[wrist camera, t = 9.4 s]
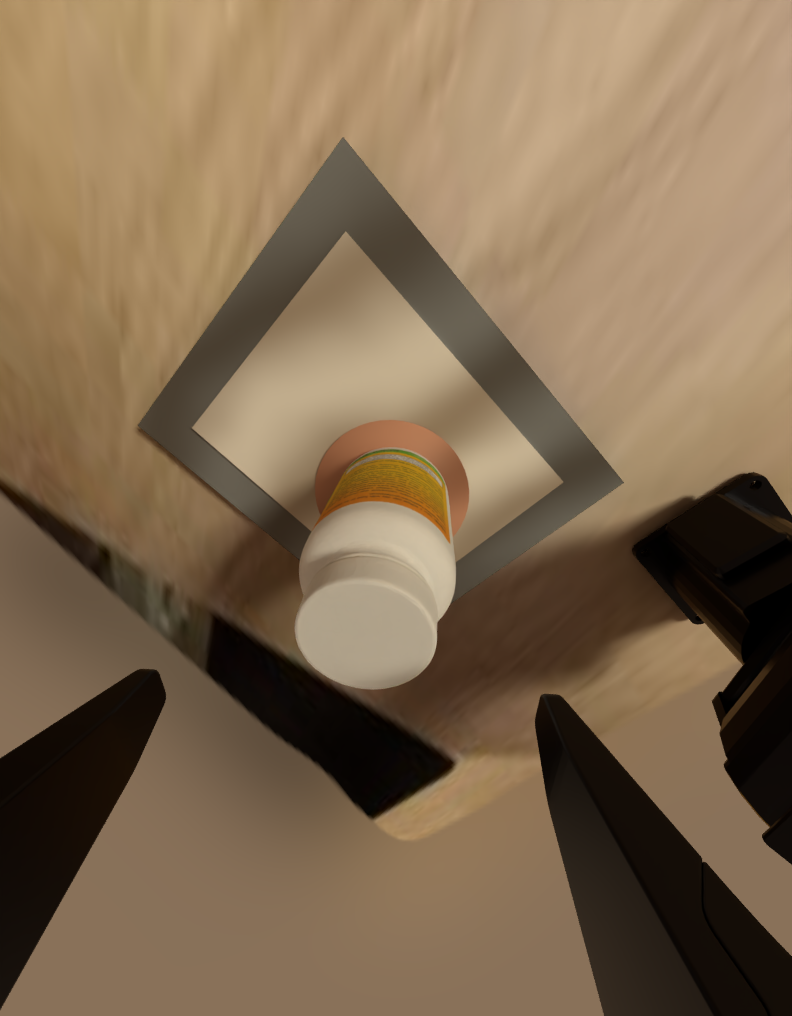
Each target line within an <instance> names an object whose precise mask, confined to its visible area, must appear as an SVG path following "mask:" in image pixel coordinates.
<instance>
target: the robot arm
mask: <svg viewBox="0 0 792 1016" xmlns="http://www.w3.org/2000/svg"><path fill="white" fill-rule="evenodd" d="M753 481H756V482H755V484H754V485H753V486H751V487H750V484H751V483H752V482H753ZM645 549H647V551H646V552H645V553H641V552H642V551H643V550H645ZM632 552H633V555H634V556H635V557H636V558H637V559H638V560H639V562H640V563H641V564H642V565H643V566H644V567H645V569H646V570H647V571H648V572H649V573H650V574H651V575H652V577H653V578H654V579H655V580H656V581H657V582H658V584H659V585H660V586H661V587H662V588H663V589H664V591H665V592H666V593H667V594H668V595H669V596H670V598H671V599H672V600H673V601H674V602H675V603H676V605H677V606H678V607H679V608H680V609H681V610H682V611H683V613H684V614H685V615H686V616H687V617H688V618H689V620H690V621H691V622H692V623H694V624H703V623H705V624H706V625H707V626H708V627H709V628H710V629H711V630H712V632H713V633H714V634H715V635H716V636H717V637H718V638H719V639H720V640H721V641H722V643H723V644H724V645H725V646H726V647H727V648H728V649H729V650H730V651H731V652H732V654H733V655H734V656H735V657H736V658H737V659H738V660H739V661H740V662H741V663H742V665H743V666H742V667H741V668H740V670H739V671H738V672H737V673H736V675H735V676H734V677H733V679H732V680H731V681H730V683H729V684H728V685H727V687H726V688H725V689H724V691H723V692H718V694H717V695H716V696H715V698H714V699H713V700H712V703H713V706H714V709H715V712H716V715H717V718H718V721H719V723H720V726H721V730H720V737H721V740H722V744H723V748H724V751H725V755H726V757H727V760H726V761H725V763H724V768H725V770H726V772H727V773H728V775H729V777H730V778H731V780H732V781H733V783H734V784H735V786H736V787H737V789H738V791H739V792H740V794H741V795H742V797H743V798H744V799H745V800H746V801H747V803H748V804H749V805H750V806H751V807H752V809H753V810H754V811H755V812H756V814H757V815H758V816H759V817H760V818H761V819H762V820H763V821H764V822H765V823H766V824H767V825H768V826H769V827H770V828H769V829H768V830H767V831H765V833H763V834H762V838H763V840H764V842H765V843H766V844H767V845H768V846H769V847H770V848H772V849H773V850H774V851H775V852H777V853H778V854H779V855H780V856H782V857H783V858H784V859H786V860H787V861H788V862H789V863H791V864H792V515H791V514H790V512H789V511H788V509H787V508H786V506H785V505H784V503H783V502H782V500H781V499H780V497H779V496H778V494H777V493H776V491H775V490H774V488H773V487H772V486H771V484H770V483H769V481H768V480H767V478H765V477H764V476H762V475H760V474H758V473H754V472H753V473H748V474H746V475H744V476H742V477H741V478H739V479H737V480H736V481H734V482H733V483H731V484H730V485H728V486H726V487H725V488H723V489H722V490H720V491H719V492H717V493H715V494H714V495H712V496H711V497H709V498H707V499H706V500H704V501H703V502H701V503H700V504H698V505H696V506H695V507H693V508H692V509H690V510H689V511H687V512H685V513H684V514H682V515H681V516H679V517H677V518H676V519H674V520H673V521H671V522H670V523H668V524H666V525H665V526H663V527H662V528H660V529H659V530H657V531H655V532H654V533H652V534H651V535H649V536H648V537H646V538H644V539H643V540H641V541H640V542H638V543H637V544H636V545H634V547H633V549H632ZM697 615H698V616H697ZM165 700H166V692H165V689H164V686H163V683H162V680H161V678H160V674H159V672H158V671H157V670H153V669H139V670H137V671H135V672H133V673H132V674H130V675H129V676H127V677H125V678H124V679H122V680H121V681H119V682H118V683H116V684H114V685H113V686H111V687H110V688H108V689H107V690H105V691H104V692H102V693H101V694H99V695H97V696H96V697H94V698H93V699H91V700H90V701H88V702H87V703H85V704H84V705H82V706H80V707H79V708H77V709H76V710H74V711H73V712H71V713H70V714H68V715H66V716H65V717H63V718H62V719H60V720H59V721H57V722H56V723H54V724H53V725H51V726H49V727H48V728H46V729H45V730H43V731H42V732H40V733H39V734H37V735H35V736H34V737H32V738H31V739H29V740H28V741H26V742H25V743H23V744H22V745H20V746H19V747H17V748H15V749H14V750H12V751H11V752H9V753H8V754H6V755H4V756H3V757H1V758H0V1010H1V1008H2V1006H3V1004H4V1002H5V1001H6V999H7V997H8V995H9V993H10V992H11V990H12V988H13V986H14V984H15V983H16V981H17V979H18V977H19V976H20V974H21V972H22V970H23V969H24V966H25V965H26V963H27V961H28V960H29V958H30V956H31V954H32V952H33V950H34V949H35V947H36V945H37V944H38V942H39V940H40V938H41V936H42V935H43V933H44V931H45V929H46V927H47V926H48V924H49V922H50V920H51V919H52V917H53V915H54V913H55V911H56V909H57V908H58V906H59V904H60V902H61V901H62V899H63V897H64V895H65V893H66V892H67V890H68V888H69V886H70V885H71V883H72V881H73V879H74V877H75V876H76V874H77V872H78V870H79V869H80V867H81V865H82V863H83V861H84V860H85V858H86V856H87V854H88V852H89V851H90V849H91V847H92V845H93V844H94V842H95V840H96V838H97V836H98V835H99V833H100V831H101V829H102V828H103V826H104V824H105V822H106V820H107V819H108V817H109V815H110V813H111V811H112V810H113V808H114V806H115V804H116V803H117V800H118V799H119V797H120V795H121V794H122V792H123V790H124V788H125V786H126V785H127V783H128V781H129V779H130V777H131V775H132V774H133V772H134V770H135V768H136V766H137V763H138V761H139V759H140V757H141V755H142V752H143V750H144V748H145V746H146V744H147V742H148V739H149V737H150V735H151V733H152V730H153V728H154V726H155V724H156V721H157V719H158V717H159V715H160V713H161V710H162V708H163V706H164V703H165ZM535 729H536V735H537V741H538V747H539V753H540V760H541V766H542V772H543V778H544V784H545V790H546V796H547V801H548V806H549V810H550V814H551V818H552V822H553V826H554V829H555V833H556V837H557V841H558V845H559V848H560V852H561V856H562V859H563V863H564V867H565V871H566V874H567V878H568V882H569V886H570V889H571V893H572V897H573V900H574V904H575V908H576V912H577V916H578V919H579V923H580V927H581V931H582V934H583V938H584V942H585V946H586V949H587V953H588V957H589V960H590V964H591V968H592V971H593V976H594V979H595V983H596V986H597V991H598V994H599V998H600V1002H601V1006H602V1009H603V1013H604V1016H792V956H791V955H790V954H789V953H788V952H787V951H786V950H785V949H784V948H783V947H782V946H781V945H780V944H779V943H778V942H777V941H776V940H775V939H774V937H772V935H770V933H769V932H768V931H767V930H766V929H765V928H764V927H763V926H762V925H761V924H760V923H759V922H758V921H757V919H756V918H755V917H754V916H753V915H752V914H751V913H750V912H749V910H748V909H747V908H746V907H745V906H744V905H743V904H742V903H741V902H740V901H739V899H738V898H737V897H736V896H735V895H734V894H733V893H732V892H731V890H730V889H729V888H728V887H727V886H726V885H725V884H724V883H723V881H722V880H721V879H720V878H719V877H718V876H717V874H716V873H715V872H714V871H713V870H712V869H711V868H710V866H709V865H708V864H707V863H706V862H702V858H701V856H700V855H699V854H698V853H697V852H696V851H695V849H694V848H693V847H692V846H691V845H690V844H689V842H688V841H687V840H686V839H685V838H684V837H683V836H682V834H681V833H680V832H679V831H678V830H677V829H676V828H675V826H674V825H673V824H672V823H671V822H670V821H669V819H668V818H667V817H666V816H665V815H664V814H663V812H662V811H661V810H660V809H659V808H658V807H657V806H656V804H655V803H654V802H653V801H652V800H651V799H650V798H649V796H648V795H647V794H646V793H645V792H644V791H643V789H642V788H641V787H640V786H639V785H638V784H637V783H636V781H635V780H634V779H633V778H632V777H631V776H630V775H629V773H628V772H627V771H626V770H625V769H624V768H623V767H622V765H621V764H620V763H619V762H618V761H617V759H615V757H614V756H613V755H612V754H611V753H610V751H609V750H608V749H607V748H606V747H605V746H604V745H603V743H602V742H601V741H600V740H599V739H598V738H597V736H596V735H595V734H594V733H593V732H592V731H591V730H590V728H589V727H588V726H587V725H586V724H585V723H584V721H583V720H582V719H581V718H580V717H579V716H578V715H577V713H576V712H575V711H574V710H573V709H572V708H571V707H570V705H569V704H568V703H567V702H566V701H565V700H564V698H563V697H561V696H560V695H556V694H542V695H541V697H540V700H539V704H538V708H537V713H536V717H535Z"/></svg>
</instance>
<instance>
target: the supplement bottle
mask: <svg viewBox="0 0 792 1016" xmlns="http://www.w3.org/2000/svg"><path fill="white" fill-rule="evenodd" d="M299 579H300V585H301V589H302V593H303V595H304V597H303V599H302V602H301V604H300V607H299V609H298V612H297V615H296V619H295V637H296V640H297V644H298V646H299V649H300V650H301V652H302V654H303V655H304V657H305V658H306V660H307V661H308V662H309V663H310V664H311V665H312V666H313V667H314V668H315V669H316V670H318V671H319V672H320V673H322V674H323V675H325V676H326V677H328V678H330V679H332V680H334V681H336V682H338V683H340V684H343V685H347V686H350V687H354V688H360V689H386V688H391V687H395V686H398V685H401V684H404V683H406V682H408V681H410V680H412V679H413V678H415V677H416V676H418V675H419V674H420V673H421V672H422V671H423V670H424V669H425V668H426V667H427V666H428V664H429V663H430V661H431V660H432V658H433V655H434V653H435V649H436V644H437V622H438V621H439V620H440V619H441V618H442V616H443V615H444V614H445V612H446V611H447V609H448V607H449V605H450V603H451V601H452V598H453V595H454V591H455V584H456V563H455V553H454V544H453V534H452V525H451V514H450V505H449V496H448V491H447V487H446V484H445V481H444V479H443V477H442V475H441V474H440V472H439V471H438V470H437V468H436V467H435V466H434V465H433V464H432V463H431V462H430V461H429V460H427V459H426V458H425V457H423V456H422V455H420V454H418V453H416V452H414V451H411V450H408V449H404V448H397V447H385V448H379V449H375V450H372V451H369V452H367V453H365V454H363V455H361V456H360V457H359V458H357V459H356V460H355V461H354V462H353V463H351V465H350V466H349V467H348V468H347V469H346V471H345V472H344V474H343V475H342V477H341V479H340V481H339V483H338V485H337V486H336V488H335V490H334V492H333V494H332V496H331V497H330V499H329V501H328V503H327V504H326V506H325V508H324V510H323V512H322V514H321V516H320V517H319V519H318V521H317V523H316V524H315V526H314V528H313V530H312V532H311V533H310V535H309V537H308V539H307V542H306V544H305V546H304V548H303V551H302V554H301V558H300V563H299Z"/></svg>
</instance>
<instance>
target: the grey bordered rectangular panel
mask: <svg viewBox="0 0 792 1016" xmlns="http://www.w3.org/2000/svg"><path fill="white" fill-rule="evenodd" d="M138 426H139V427H140V428H141V429H142V430H144V431H145V432H146V433H147V434H148V435H150V436H151V437H152V438H153V439H155V440H156V441H157V442H158V443H159V444H161V445H162V446H163V447H164V448H165V449H167V450H168V451H169V452H170V453H171V454H173V455H174V456H175V457H176V458H177V459H179V460H180V461H181V462H182V463H183V464H185V465H186V466H187V467H188V468H189V469H191V470H192V471H193V472H194V473H195V474H197V475H198V476H199V477H200V478H201V479H203V480H204V481H205V482H206V483H207V484H209V485H210V486H211V487H212V488H213V489H215V490H216V491H217V492H218V493H219V494H221V495H222V496H223V497H224V498H225V499H227V500H228V501H229V502H230V503H231V504H233V505H234V506H235V507H236V508H237V509H239V510H240V511H241V512H242V513H243V514H245V515H246V516H247V517H248V518H250V519H251V520H252V521H253V522H254V523H256V524H257V525H258V526H259V527H260V528H262V529H263V530H264V531H265V532H266V533H268V534H269V535H270V536H271V537H272V538H274V539H275V540H276V541H277V542H278V543H280V544H281V545H282V546H283V547H284V548H286V549H287V550H288V551H289V552H290V553H292V554H293V555H294V556H295V557H296V558H298V559H299V560H300V558H301V554H302V551H303V548H304V546H305V544H306V542H307V539H308V537H309V535H310V533H311V532H312V530H313V528H314V526H315V524H316V523H317V521H318V519H319V517H320V516H321V514H322V512H323V510H324V508H325V506H326V504H327V503H328V501H329V499H330V497H331V496H332V494H333V492H334V490H335V488H336V486H337V485H338V483H339V481H340V479H341V477H342V475H343V474H344V472H345V471H346V469H347V468H348V467H349V466H350V465H351V463H353V462H354V461H355V460H356V459H357V458H359V457H360V456H361V455H363V454H365V453H367V452H369V451H372V450H375V449H379V448H385V447H397V448H404V449H408V450H411V451H414V452H416V453H418V454H420V455H422V456H423V457H425V458H426V459H427V460H429V461H430V462H431V463H432V464H433V465H434V466H435V467H436V468H437V470H438V471H439V472H440V474H441V475H442V477H443V479H444V481H445V484H446V487H447V491H448V496H449V505H450V514H451V525H452V534H453V544H454V553H455V563H456V584H455V591H454V595H453V598H452V601H451V603H453V602H454V601H456V600H457V599H458V598H460V597H461V596H463V595H464V594H466V593H467V592H468V591H470V590H471V589H473V588H474V587H476V586H477V585H478V584H480V583H481V582H483V581H484V580H486V579H487V578H488V577H490V576H491V575H493V574H494V573H496V572H497V571H498V570H500V569H501V568H503V567H504V566H506V565H507V564H508V563H510V562H511V561H513V560H514V559H516V558H517V557H518V556H520V555H521V554H523V553H524V552H526V551H527V550H528V549H530V548H531V547H533V546H534V545H536V544H537V543H538V542H540V541H541V540H543V539H544V538H546V537H547V536H548V535H550V534H551V533H553V532H554V531H556V530H557V529H558V528H560V527H561V526H563V525H564V524H566V523H567V522H568V521H570V520H571V519H573V518H574V517H576V516H577V515H578V514H580V513H581V512H583V511H584V510H586V509H587V508H588V507H590V506H591V505H593V504H594V503H596V502H597V501H598V500H600V499H601V498H603V497H604V496H606V495H607V494H608V493H610V492H611V491H613V490H614V489H616V488H617V487H618V486H620V485H621V484H623V483H624V482H623V481H622V480H621V478H620V477H619V476H618V475H617V473H616V472H615V471H614V470H613V469H612V467H611V466H610V465H609V464H608V462H607V461H606V460H605V459H604V457H603V456H602V455H601V454H600V453H599V451H598V450H597V449H596V448H595V446H594V445H593V444H592V443H591V441H590V440H589V439H588V438H587V437H586V435H585V434H584V433H583V432H582V430H581V429H580V428H579V427H578V425H577V424H576V423H575V422H574V421H573V419H572V418H571V417H570V416H569V414H568V413H567V412H566V411H565V409H564V408H563V407H562V406H561V405H560V403H559V402H558V401H557V400H556V398H555V397H554V396H553V395H552V393H551V392H550V391H549V390H548V389H547V387H546V386H545V385H544V384H543V382H542V381H541V380H540V379H539V377H538V376H537V375H536V374H535V373H534V371H533V370H532V369H531V368H530V366H529V365H528V364H527V363H526V361H525V360H524V359H523V358H522V357H521V355H520V354H519V353H518V352H517V350H516V349H515V348H514V347H513V345H512V344H511V343H510V342H509V341H508V339H507V338H506V337H505V336H504V334H503V333H502V332H501V331H500V329H499V328H498V327H497V326H496V325H495V323H494V322H493V321H492V320H491V318H490V317H489V316H488V315H487V313H486V312H485V311H484V310H483V309H482V307H481V306H480V305H479V304H478V302H477V301H476V300H475V299H474V297H473V296H472V295H471V294H470V293H469V291H468V290H467V289H466V288H465V286H464V285H463V284H462V283H461V281H460V280H459V279H458V278H457V277H456V275H455V274H454V273H453V272H452V270H451V269H450V268H449V267H448V265H447V264H446V263H445V262H444V261H443V259H442V258H441V257H440V256H439V254H438V253H437V252H436V251H435V249H434V248H433V247H432V246H431V245H430V243H429V242H428V241H427V240H426V238H425V237H424V236H423V235H422V233H421V232H420V231H419V230H418V229H417V227H416V226H415V225H414V224H413V222H412V221H411V220H410V219H409V217H408V216H407V215H406V214H405V213H404V211H403V210H402V209H401V208H400V206H399V205H398V204H397V203H396V202H395V200H394V199H393V198H392V197H391V195H390V194H389V193H388V192H387V190H386V189H385V188H384V187H383V186H382V184H381V183H380V182H379V181H378V179H377V178H376V177H375V176H374V174H373V173H372V172H371V171H370V170H369V168H368V167H367V166H366V165H365V163H364V162H363V161H362V160H361V158H360V157H359V156H358V155H357V154H356V152H355V151H354V150H353V149H352V147H351V146H350V145H349V144H348V142H347V141H346V140H345V139H344V138H342V139H341V140H340V142H339V143H338V145H337V146H336V148H335V149H334V150H333V152H332V153H331V155H330V156H329V157H328V159H327V160H326V162H325V163H324V164H323V166H322V167H321V169H320V170H319V171H318V173H317V174H316V176H315V177H314V178H313V180H312V181H311V183H310V184H309V185H308V187H307V188H306V190H305V191H304V193H303V194H302V195H301V197H300V198H299V200H298V201H297V202H296V204H295V205H294V207H293V208H292V209H291V211H290V212H289V214H288V215H287V216H286V218H285V219H284V221H283V222H282V223H281V225H280V226H279V228H278V229H277V230H276V232H275V233H274V235H273V236H272V238H271V239H270V240H269V242H268V243H267V245H266V246H265V247H264V249H263V250H262V252H261V253H260V254H259V256H258V257H257V259H256V260H255V261H254V263H253V264H252V266H251V267H250V268H249V270H248V271H247V273H246V274H245V276H244V277H243V278H242V280H241V281H240V283H239V284H238V285H237V287H236V288H235V290H234V291H233V292H232V294H231V295H230V297H229V298H228V299H227V301H226V302H225V304H224V305H223V306H222V308H221V309H220V311H219V312H218V313H217V315H216V316H215V318H214V319H213V321H212V322H211V323H210V325H209V326H208V328H207V329H206V330H205V332H204V333H203V335H202V336H201V337H200V339H199V340H198V342H197V343H196V344H195V346H194V347H193V349H192V350H191V351H190V353H189V354H188V356H187V357H186V358H185V360H184V361H183V363H182V364H181V366H180V367H179V368H178V370H177V371H176V373H175V374H174V375H173V377H172V378H171V380H170V381H169V382H168V384H167V385H166V387H165V388H164V389H163V391H162V392H161V394H160V395H159V396H158V398H157V399H156V401H155V402H154V404H153V405H152V406H151V408H150V409H149V411H148V412H147V413H146V415H145V416H144V418H143V419H142V420H141V422H140V423H139V425H138ZM451 603H450V604H451Z"/></svg>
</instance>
